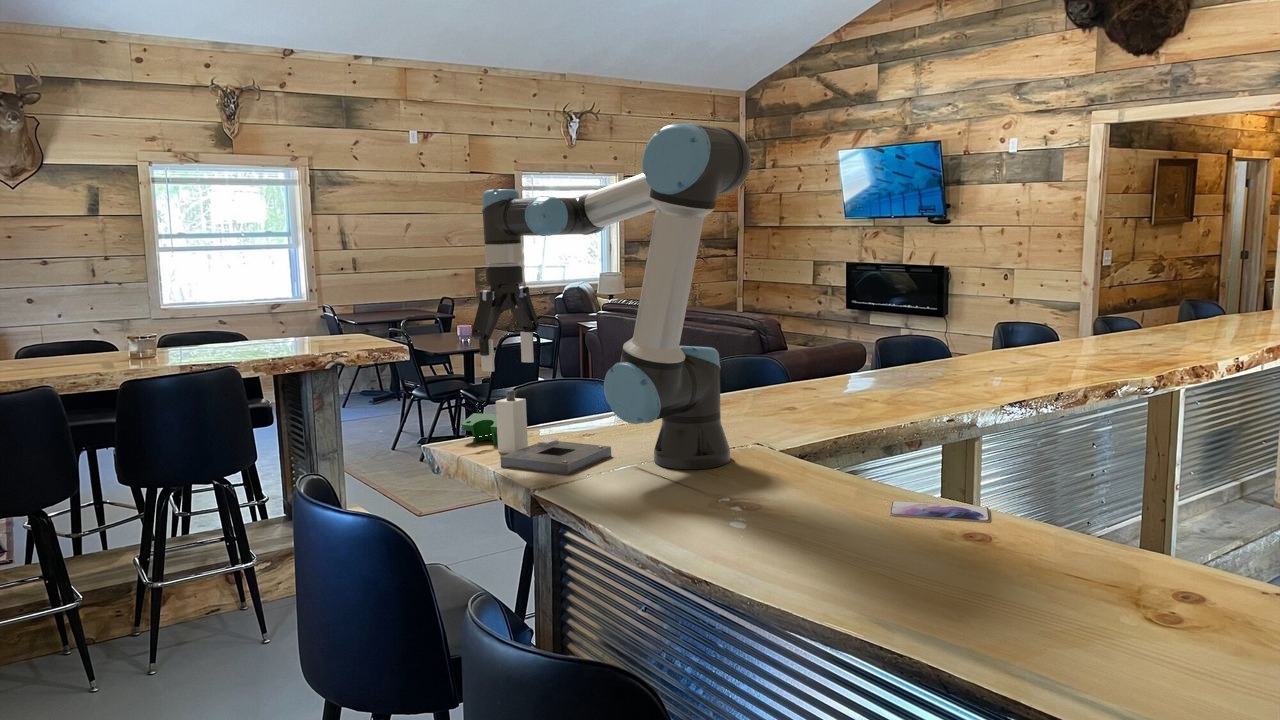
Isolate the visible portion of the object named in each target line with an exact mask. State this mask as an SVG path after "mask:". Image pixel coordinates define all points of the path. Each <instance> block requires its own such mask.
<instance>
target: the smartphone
mask: <svg viewBox="0 0 1280 720" xmlns="http://www.w3.org/2000/svg"><path fill="white" fill-rule="evenodd" d="M889 516H890V517H894V518H895V517H897V518H909V519H910V518H911V519H924V520H926V519H927V520H943V521H956V522H972V523H983V524H984V523H989V524H990V523H991V522H992V521H991V520H992V519H991V513H990V508H989V507H987V506H976V505H964V504H963V505H962V504H950V503H949V504H948V503H946V504H945V503H934V502H933V503H931V502H930V503H929V502H917V501H900V500H893V501H891V505H890V511H889Z"/></svg>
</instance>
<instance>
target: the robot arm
mask: <svg viewBox="0 0 1280 720" xmlns="http://www.w3.org/2000/svg"><path fill="white" fill-rule="evenodd" d="M751 155H752V154H751V150H750V148H749V146H748V144H747V142H746V141H745V140H744V139H743V137H742V136H741V135H740V134H738V133H737V132H735V131H734V130H731V129H729V128H724V127H714V126H707V125H700V124H695V123H687V122H684V123H673V124H667V125H666V126H663V127H662V128H661V129H659V130H658V131H657V132H655V133H654V134H653V135H652V136H651V138H650V139H649V141H648V142H647V144H646V146H645V148H644V151H643V155H642V164H641V165H642V166H641V168H642V172H641V173H639V174H637V175H634V176H632V177H631V176H630V177H628V178H626V179H623V180H620V181H619V182H615V183H613V184H609V185H607V186H604V187H602V188H599V189H597V190H594V191H591V192H589V193H586V194H583V195H581V196H578V197H555V196H543V195H542V196H537V197H526V198H520V196H519V195H520V194H519V191H518V190H517V189H511V188H510V189H508V188H506V189H505V188H503V189H488V190H485V191H484V192H483V193H482V208H481V212H482V223H483V239H484V240H483V241H484V243H483V244H484V254H485V255H484V256H485V257H484V258H485V264H486V265H488V266H487V267H485V283H486V285H489V287H490V290H480V291H479V302H478V305H477V309H476V314H475V318H474V322H473V325H472V329H471V333H470V335H471V338H474V339H475V340H478V341H479V342H478V344H479V345H478V346H479V354H480V355H479V356H480V358H481V359H480V360H481V362H480V363H481V364H480V365H481V372H490V373H492V372H495V370H496V369H495V354H494V353H495V351H494V349H495V348H494V339H491V337H492V335H493V332H494V330H495V328H496V325H497V323H498V321H499V318H500V317H501V314H503V313H504V312H506V311H510V312H511V313H512V315H513V316H514V319H515V320H516V322H517V323H518V325H519V326H520V328H521V330H522V331H520V333H519V334H520V336H519V337H520V350H521V351H520V353H521V357H520V358H521V363H535V359H534V333H536V332H538V329H539V328H540V322H539V319H538V316H537V313H536V311H535V308H534V305H533V301H532V299H531V295H530V288H529V286H520V285H521V284H522V283H523V280H524V279H523V267H522V266H521V265H520V264H521V263H522V262H523V256H522V255H523V254H522V237H523V236H532V237H533V236H534V237H535V236H536V237H537V236H539V237H546V236H547V237H550V236H559V235H560V236H561V235H584V236H589V235H592V234H598V233H600V232H602V231H603V230H604V229H605V227H608V226H610V225H614V224H616V223H620V222H622V221H625V220H628V219H630V218H635V217H638V216H640V215H644V214H646V213H649V212H652V211H655V213H654V218H653V224H652V230H651V236H650V241H649V246H648V252H647V258H646V263H645V269H644V275H643V280H642V281H643V282H642V284H641V285H642V286H641V290H640V291H641V292H640V296H639V297H640V298H639V302H638V308H637V314H636V317H635V319H636V320H635V325H634V330H633V336H632V338H630V339H629V340H627V341H626V342H624V343H623V346H622V351H621V355H620V360H619V361H620V362H616V363H614V365H613V366H611V367H610V368H609V369H608V370H607V372H606V374H605V377H604V381H603V392H604V396H605V399H606V403H607V404H608V405H609V406H610V409H611V411H612V412H613V413H614V415H616V417H617V418H619V419H620V420H621V421H623V422H625V423H627V424H630V425H631V424H632V425H640V424H650V423H653V422H655V421H657V420H660V419H661V425H660V429H659V432H658V437H657V439H656V442H655V445H654V446H655V447H654V448H653V449H654V451H653V459H654V460H653V461H654V463H655V464H657V465H658V466H661V467H664V468H668V469H669V468H670V469H677V470H704V469H705V470H706V469H713V468H718V467H721V466H724V465H726V464H728V463H730V461H731V450H730V445H729V442H728V440H727V436H726V434H725V430H724V428H723V424H722V421H721V415H722V414H721V369H722V368H721V364H720V353H719V351H718V350H717V349H716V348H714V347H709V346H694V345H692V346H690V345H680V343H681V338H682V333H683V327H684V323H685V318H686V312H687V308H688V304H689V297H690V292H691V287H692V283H693V282H692V281H693V276H694V272H695V271H694V270H695V266H696V261H697V256H698V250H699V247H700V246H699V245H700V241H701V237H702V236H701V235H702V230H703V225H704V221H705V218H706V217H707V216H708V215H710V214H711V213H712V212H714V211H715V209H716V204H717V199H718V196H719V195H725V194H728V193H731V192H733V191H736V190H737V189H738V188H740V187H741V186H742V185H743V184H744V183H745V181H746V180H747V178H748V176H749V174H750V172H751V171H750V170H751V166H752V156H751Z"/></svg>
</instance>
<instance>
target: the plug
mask: <svg viewBox="0 0 1280 720" xmlns="http://www.w3.org/2000/svg"><path fill="white" fill-rule="evenodd" d="M505 394H506V397H505V398H503V399H502V398H501V399H499V400H496V401H495V413H496V417H497V437H498V444H497V452H498V453H503V454H509V453H512V452H515V451H518V450H520V449H523V448H526V447H529V441H528V440H529V439H528V437H529V436H528V421H527V420H528V418H527V399H526V398H519V397H518V398H517V397H516V393H515V389H507V390H505Z"/></svg>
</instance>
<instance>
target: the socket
mask: <svg viewBox="0 0 1280 720" xmlns="http://www.w3.org/2000/svg"><path fill="white" fill-rule="evenodd" d="M610 457H612V446H609V445H600V444H591V443H590V444H588V443H579V442H572V441H569V442H568V441H560V440H559V438H550V437H548V438H546V439H544V440H540V441H538V442H537V443H534V444H532V445H528V447H526V448H523V449H520V450H518V451H515V452H512V453H506V454H503V455H502V456H500V467H501V466H503V467H502V468H509V467H510V468H511V469H517V468H519V470H525V469H526V470H527V471H533V470H535V471H534V472H541V471H542V473H543V472H544V473H549V474H559V475H567V476H569V475H570V474H573V473H575V472H578V471H580V470H582V469H585V468H587V467H588V466H592V465H594V464H595V463H599V462H601V461H604V460H605V459H607V458H608V459H609V458H610ZM510 468H509V469H510Z"/></svg>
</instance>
